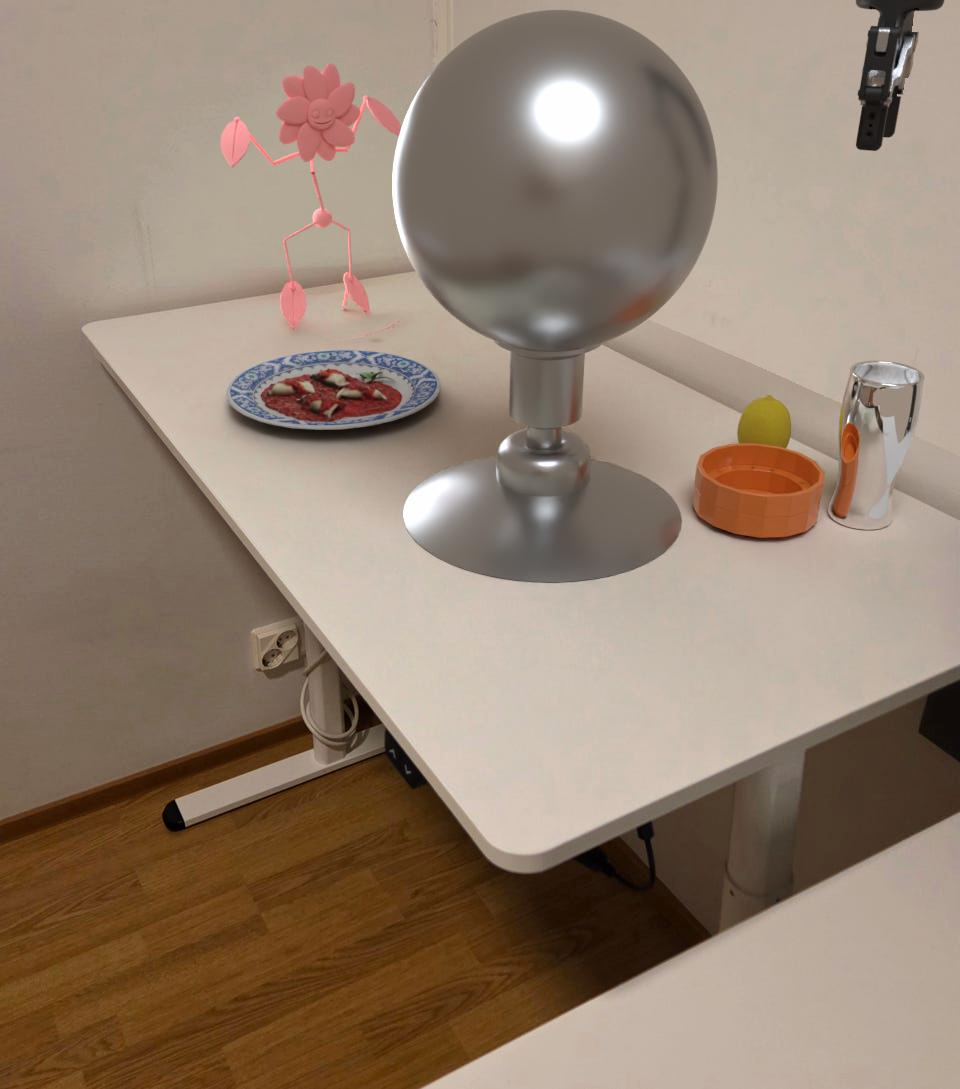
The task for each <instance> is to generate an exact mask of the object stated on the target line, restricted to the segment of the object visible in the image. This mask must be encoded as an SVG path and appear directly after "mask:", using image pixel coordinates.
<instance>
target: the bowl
mask: <svg viewBox="0 0 960 1089" xmlns="http://www.w3.org/2000/svg"><path fill="white" fill-rule="evenodd" d="M825 474H826V472H825V470H823V468H822V467H821V466H820V464H819V462H817V461H816V460H814V459H813V458H811V457H808V456H807V455H806V454H803V453H802V452H800V451H795V450H793V449H789V448H787V447H786V448H783V447H779V446H773V445H765V444H757V443H741V444H739V443H728V444H724V445H720V446H715V447H711V448H710V449H709V450H707V451H705V452H704V453H702V454H700V456H699V459H698V460H697V463H696V469H695V477H694V484H693V485H694V488H693V493H692V494H693V496H692V506H693V508H694V510H695V512H696V514H697V516H698V517H700V518H701V519H702V520H704V521H705V522H706V523H708V524H709V525H711V526H712V527H715V528H718V529H721V530H724V531H726V532H729V533H732V534H735V535H740V536H746V537H752V538H785V537H791V536H794V535H799V534H801V533H806V532H807V531H808V530H809V529H811V528H812V527H813V526H815V524H817V523H818V517H819V510H820V506H821V499H822V494H823V489H824V481H825Z"/></svg>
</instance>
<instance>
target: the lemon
mask: <svg viewBox="0 0 960 1089" xmlns="http://www.w3.org/2000/svg"><path fill="white" fill-rule="evenodd" d="M791 434H792V418H791V413H790V411H789V409H788V408H787V406H786V405H785V404H784V403H783V402H782V401H780V400H779V399H777V398H775V397H773V395H770V394H766V395H765V396H763V397H759V398H756V399H754V400H753V401H751V402H750V403H748V404H747V406H746V407H745V408H744V410H743V411H742V414H741V416H740V418H739V422H738V425H737V434H736V435H737V442H738V443H737V444H741V443H757V444H765V445H773V446H779V447H783V448H786V449H787V447H788V445H789V443H790V440H791V436H792V435H791Z"/></svg>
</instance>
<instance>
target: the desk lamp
mask: <svg viewBox="0 0 960 1089" xmlns="http://www.w3.org/2000/svg"><path fill="white" fill-rule="evenodd" d="M397 137H398V138H397V141H396V145H395V151H394V157H393V164H392V176H391V177H392V178H391V179H392V182H391V183H392V184H391V188H392V189H391V190H392V204H393V211H394V219H395V222H396V226H397V230H398V234H399V237H400V241H401V243H402V246H403V249H404V252H405V254H406V256H407V258H408V260H409V262H410V264H411V266H412V268H413V271H414V272H415V273H416V275H417V277H418V278H419V280H420V281H421V283H422V284H423V286H424V287H425V288H426V290H427V291H428V292H429V293H430V295H431V296H432V297H433V299H435V301H436V302H438V304H439V305H440V306H441V307H443V309H445V311H447V312H448V313H449V314H450V315H451V316H452V317H453V318H455V319H456V320H457V321H459V322H460V323H461V324H462V325H464V326H466V327H468V328H469V329H471V330H472V331H474V332H476V333H478V334H479V335H482V336H483V337H485V338H488V339H490V340H492V341H493V342H494V343H495V344H496V345H497V346H498V347H500V348H502V349H504V350H507V351H509V384H508V385H509V386H508V387H509V389H508V390H509V391H508V392H509V393H508V394H509V396H508V400H509V401H508V415H509V418H510V419H511V420H513V421H514V422H516V423H518V424H520V425H523V426H526V427H527V428H523V429H519V430H516V431H514V432H512V433H510V434H509V435H508V436H507V437H505V439H503V440H502V441H501V442H500V444H499V446H498V449H497V452H496V455H492V456H491V455H490V456H485V457H481V458H480V457H479V458H477V459H472V460H467V461H464V462H461V463H457V464H455V465H452V466H449V467H445V468H444V469H442V470H440V471H438V472H436V473H433V474H432V475H431V476H429V477H427V478H426V479H424V480H423V481H421V483H419V484H418V485H417V486H415V488H414V489H412V491H411V492H410V494H409V495H408V497H407V498H406V500H405V502H404V506H403V509H402V510H403V511H402V512H403V513H402V518H403V522H404V526H405V528H406V529H407V531H408V532H407V533H408V534H409V535H410V536H411V537H412V538H413V540H414V541H415V542H416V543H417V544H418V545H420V547H422V549H424V550H425V551H427V552H428V553H429V554H431V555H433V556H435V557H437V558H438V559H440V560H442V561H444V562H446V563H448V564H450V565H453V566H455V567H458V568H461V569H464V570H466V571H470V572H474V573H477V574H480V575H485V576H490V577H493V578H499V579H505V580H512V581H519V582H521V581H522V582H533V583H567V582H568V583H569V582H579V581H580V582H581V581H588V580H595V579H601V578H606V577H610V576H614V575H619V574H622V573H626V572H628V571H631V570H634V569H636V568H639V567H641V566H643V565H646V564H648V563H650V562H651V561H653V560H655V559H657V558H659V556H661V555H663V554H664V553H665V552H666V551H667V550H668V549H669V548H671V547H672V546H673V544H674V543H675V541H676V540H677V539H678V537H679V534H680V532H681V530H682V522H683V520H682V514H681V511H680V508H679V506H678V504H677V503H676V501H675V500H674V498H673V497H672V496H671V495H670V494H669V493H668V492H667V491H666V490H665V489H664V488H663V487H661V486H660V485H659V484H657V483H656V482H655V481H653V480H651V479H650V478H648V477H646V476H644V475H642V474H641V473H638V472H636V471H634V470H631V469H628V468H626V467H623V466H621V465H617V464H614V463H610V462H607V461H603V460H599V459H594V458H592V455H591V452H590V448H589V446H588V444H587V443H586V442H585V441H584V440H583V439H581V437H580V436H578V435H577V434H575V433H573V432H572V431H569V430H565V429H563V428H564V427H568V426H571V425H573V424H576V423H577V422H579V421H580V420H581V418H582V414H583V413H582V412H583V396H584V377H585V359H586V353H589V352H592V351H594V350H596V349H599V347H601V346H602V344H603V343H606V342H609V341H611V340H614V339H616V338H618V337H620V336H623V335H624V334H626V333H629V332H630V331H632V330H634V329H635V328H637V327H638V326H640V325H642V324H643V323H644V322H646V321H647V320H649V319H650V318H651V317H652V316H654V314H656V313H657V312H658V311H660V310H661V309H662V307H664V306H665V304H667V303H668V302H669V301H670V300H671V298H672V297H673V296H674V295H675V294H676V293H677V291H678V290H679V289H680V288H681V287H682V285H683V284H685V281H686V280H687V278H688V277H689V275H690V273H691V272H692V271H693V269H694V268H695V265H696V263H697V261H698V260H699V258H700V256H701V255H702V254H701V253H702V251H703V250H704V247H705V244H706V242H707V240H708V236H709V234H710V231H711V227H712V223H713V220H714V216H715V211H716V204H717V196H718V183H719V182H718V180H719V177H718V176H719V175H718V174H719V173H718V170H719V169H718V158H717V150H716V144H715V139H714V135H713V131H712V127H711V124H710V120H709V118H708V115H707V113H706V110H705V107H704V105H703V103H702V101H701V99H700V97H699V95H698V93H697V92H696V90H695V88H694V87H693V85H692V83H691V81H690V80H689V78H688V77H687V76H686V75H685V73H684V72H683V71H682V69H681V68H680V66H678V64H677V63H676V62H675V61H674V60H673V59H672V58H671V57H670V56H669V54H667V52H665V51H664V50H663V49H662V48H661V47H660V46H658V45H657V44H656V43H655V42H653V41H652V40H651V39H649V37H647V36H645V35H644V34H642V33H641V32H639V31H637V30H636V29H634V28H632V27H630V26H628V25H627V24H624V23H621V22H619V21H617V20H615V19H612V18H609V17H606V16H603V15H599V14H595V13H592V12H588V11H587V12H586V11H580V10H570V9H547V10H545V9H544V10H537V11H531V12H526V13H522V14H518V15H517V14H516V15H513V16H510V17H507V18H504V19H502V20H499V21H497V22H495V23H493V24H490V25H488V26H486V27H484V28H482V29H481V30H479V31H477V32H476V33H473V34H472V35H470V36H469V37H467V38H466V39H465V40H463V41H462V42H460V43H459V44H458V45H457V46H455V47H454V48H453V49H452V50H451V51H450V52H448V53H447V54H446V56H444V57H443V58H442V60H440V61H439V63H437V65H436V66H435V67H434V69H433V70H432V71H431V72H430V73H429V74H428V76H427V77H426V79H425V80H424V81H423V83H422V84H421V86H420V87H419V89H418V90H417V93H415V96H414V98H413V99H412V101H411V104H410V105H409V108H408V110H407V112H406V114H405V117H404V119H403V121H402V124H401V130H400V134H399V136H397Z"/></svg>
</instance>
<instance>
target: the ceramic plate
mask: <svg viewBox="0 0 960 1089" xmlns="http://www.w3.org/2000/svg"><path fill="white" fill-rule="evenodd" d="M441 385H442V383H441V380H440V377H439V376H438V374H437V373H436V372H435V371H434V370H432V369H431V368H430V367H429V366H426V365H425V364H423V363H421V362H419V361H417V360H414V359H411V358H408V357H405V356H400V355H399V354H392V353H386V352H379V351H372V350H358V349H357V350H356V349H355V350H354V349H351V350H350V349H331V350H319V351H318V350H317V351H309V352H301V353H294V354H289V355H285V356H284V355H283V356H280V357H276V358H273V359H270V360H267V361H264V362H261V363H259V364H256V365H253V366H251V367H249V368H247V369H245V370H244V371H242V372H240V373H239V374H238V375H236V376H235V377H234V378H233V379H232V380H231V381H230V382H229V384H228V385H227V387H226V391H225V392H226V394H225V396H226V398H227V402H228V403H229V405H230V406H231V407H232V408H233V409H234V410H235V411H237V412H238V413H240V414H241V415H243V416H245V417H246V418H250V419H252V420H254V421H258V422H260V423H264V424H267V425H271V426H276V427H277V426H278V427H283V428H289V429H295V430H296V429H299V430H316V431H317V430H319V431H323V430H325V431H329V430H347V429H355V428H356V429H358V428H366V427H371V426H376V425H381V424H384V423H389V422H393V421H397V420H399V419H403V418H406V417H408V416H411V415H413V414H416V413H417V412H419V411H421V410H422V409H425V408H426V407H427V406H429V405H431V403H433V402H434V401H435V399H437V398H438V396H439V394H440V391H441Z"/></svg>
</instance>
